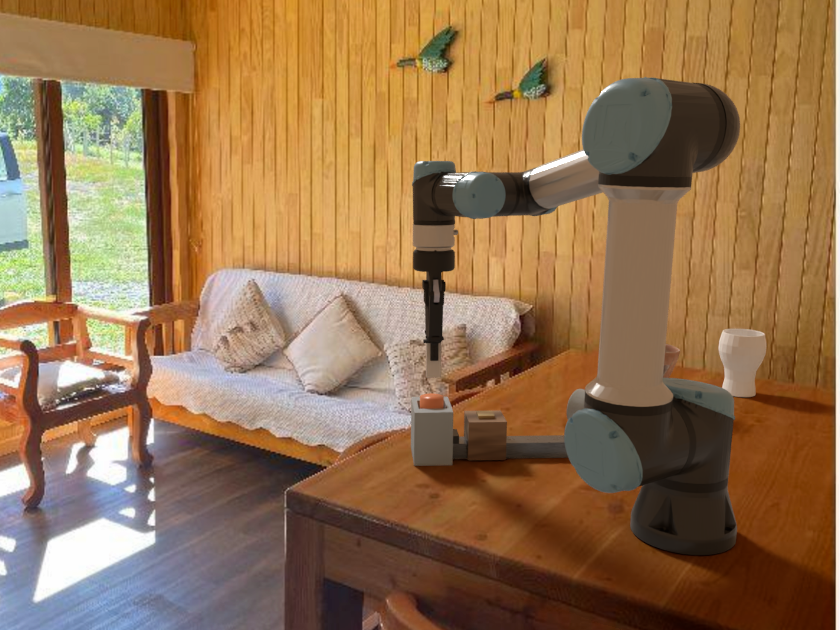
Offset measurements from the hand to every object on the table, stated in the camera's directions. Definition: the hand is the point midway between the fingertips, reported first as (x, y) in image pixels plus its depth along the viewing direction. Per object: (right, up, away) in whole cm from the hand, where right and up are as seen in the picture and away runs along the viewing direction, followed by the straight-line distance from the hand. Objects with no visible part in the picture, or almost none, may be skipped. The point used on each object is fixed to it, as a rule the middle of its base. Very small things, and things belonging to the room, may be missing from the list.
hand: (433, 376), depth 150 cm
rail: (+15, -15, +4) cm, 22 cm away
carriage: (+10, -15, +4) cm, 18 cm away
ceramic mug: (+34, -12, +22) cm, 42 cm away
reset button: (0, -10, +2) cm, 10 cm away
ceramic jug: (+49, -10, +36) cm, 62 cm away
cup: (+75, -8, +48) cm, 89 cm away
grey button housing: (0, -15, +3) cm, 15 cm away
